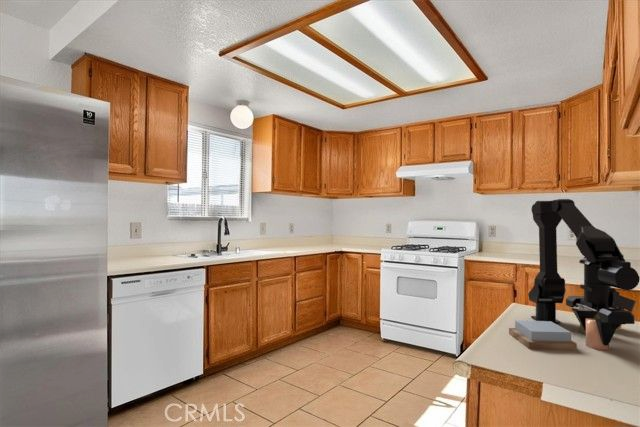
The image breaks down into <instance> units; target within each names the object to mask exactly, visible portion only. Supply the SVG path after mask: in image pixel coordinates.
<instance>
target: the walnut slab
mask: <svg viewBox="0 0 640 427" xmlns="http://www.w3.org/2000/svg"><path fill="white" fill-rule="evenodd" d="M508 335H510V336H511V337H512V338H514V339H515V340H516V341H517V342H519V343H520V344H521V345H522V346H524V347H525V348H527V350H549V351H550V350H551V351H552V350H554V351H555V350H557V351H577V350H578V347H577V343H576V342H575V341H574V340H573V339H571V342H559V341H531V340H530V339H528V338H527V337H526V336H524V335H523V334H521V333H520V332H519V331H517V330H516V329H515V327H508Z"/></svg>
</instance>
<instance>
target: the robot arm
mask: <svg viewBox="0 0 640 427" xmlns="http://www.w3.org/2000/svg"><path fill="white" fill-rule="evenodd" d="M531 213H532V220H533V221H534V223H535V224H536V226H537V227H538V236H539V238H538V242H539V243H538V244H539V246H538V247H539V250H538V252H539V272H538V273H537V275H536V276H535V277H534V283H533V286H532V288H531V290H530V291H529V292H528V293H527V295H528V301H530V302H533V303H534V304H535V315H531V316H530V318H531V319H534V321H551V322H553V323H555V324H561V323H562V321H560V320H559V319H557V315H556V314H557V308H556V307H557V306H556V305H557V304H563V303H564V299H565V306H567V307H570V308H571V311H572V312H573V315H575V317H576V319H577V321H578V322H579V325H580V324H581V326H582V328H583V330H584V332H585V334H584V335H586V318H594V317H595V316H596V314H597V313H599V317H600V319H595V321H596V324H597V327H598V331H599V334H600V337H601V340H602V343H603V345H605V346H608V345H609V346H610V343H611V341H612V339H613V337H614V334H615V333H616V331H617V330H618V329H617V327H619V326H620V325H634V324H636V321H635V320H636V318H635V317H636V316H635V315H634V313H633V310H634V308H635V305H636V302H637V300H633V299H631V298H629V297H626V296H623V295H620V292H619V291H617V290H616V289H620V290H624V291H633V290H634V289H635V288H637V287H638V285H639V283H640V276H639V273H638V272H637V270H636V269H635V268H633V267H631V264H632V263H631V262H630V261H626V259H625V258H624V257H625V256H624V255H623V253H622V252H621V250H620V248H619V247H618V246H619V245H617V243H616V241H615V239H614V238H613V237H612V236H611V235H610V234H608V233H607V232H606V231H604V230H601V229H599V228H596V227H595V226H594V225H593V223H591V222H590V221H589V220H588V219H587V217H586V216H585V215H584V214H583V213H582V211H581V210H580V209H579V208H578V207H577V206H576V204H575V201H574V200H573V199H570V198H555V199H553V200H537V201H535V202H534V203H533V204H532V206H531ZM561 221H563V222H564V223H565V224H566V226H567V227H568V228H569V230H570V231H571V232H572V234H574V235H575V237H576V240H575V245H576V246H577V249H578V250H579V252H580V253H581V256H583V258H581V259H579V264H582V265H583V283H581V284H580V285H579V286H580V289H582V290H583V295H568V296H567V297H566V298H565V296H566V291H567V290H566V280H565V278H564V277H562V276H561V275H560V273H559V272H558V243H557V242H558V241H557V240H558V239H557V238H558V236H557V234H558V233H557V228H558V226H559V224H560V223H561ZM617 307H618V308H621V309H613V308H617ZM600 309H601V310H600ZM616 329H617V330H616Z"/></svg>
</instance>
